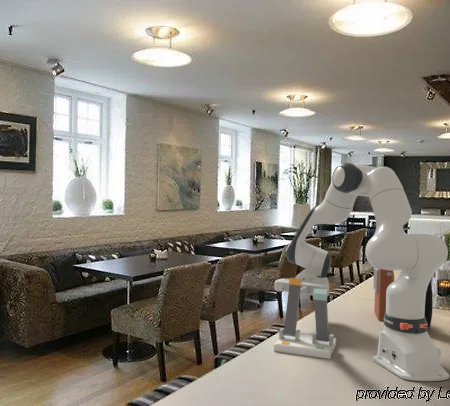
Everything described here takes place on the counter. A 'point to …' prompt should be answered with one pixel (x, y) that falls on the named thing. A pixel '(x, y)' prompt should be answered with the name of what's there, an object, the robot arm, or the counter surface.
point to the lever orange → (292, 306)
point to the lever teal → (321, 314)
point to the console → (305, 344)
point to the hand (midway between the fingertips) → (297, 291)
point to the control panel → (381, 290)
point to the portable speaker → (428, 305)
